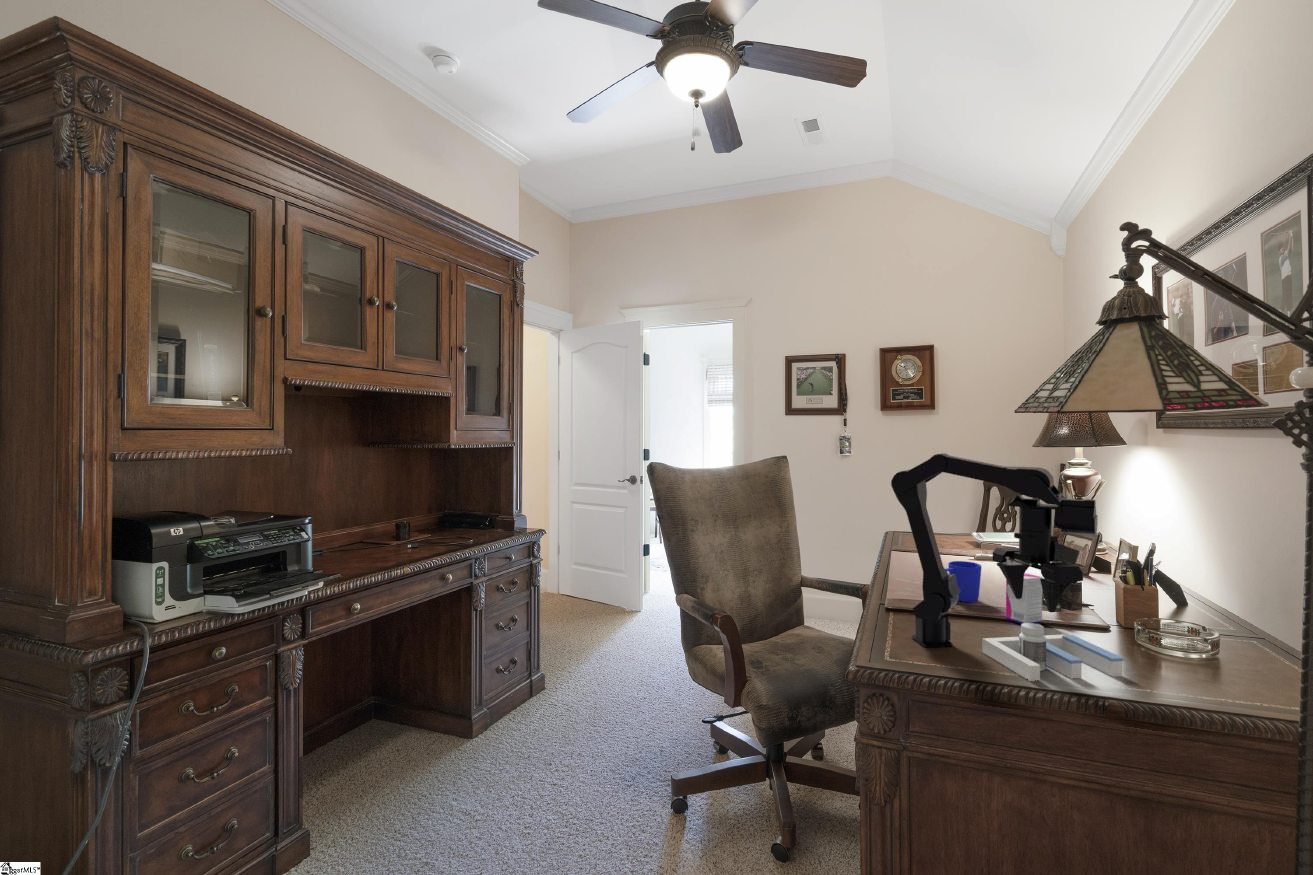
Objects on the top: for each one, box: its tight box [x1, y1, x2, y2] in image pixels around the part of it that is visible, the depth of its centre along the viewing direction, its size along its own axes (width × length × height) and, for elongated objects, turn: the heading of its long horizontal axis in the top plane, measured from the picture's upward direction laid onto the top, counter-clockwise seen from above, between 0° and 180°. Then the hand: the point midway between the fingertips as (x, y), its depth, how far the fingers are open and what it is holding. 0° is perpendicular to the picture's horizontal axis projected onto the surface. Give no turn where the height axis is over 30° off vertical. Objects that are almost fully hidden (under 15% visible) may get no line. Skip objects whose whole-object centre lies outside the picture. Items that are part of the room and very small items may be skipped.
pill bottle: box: [1018, 623, 1047, 672], centre depth 126 cm, size 5×5×8 cm
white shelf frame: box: [981, 634, 1124, 682], centre depth 127 cm, size 19×15×4 cm
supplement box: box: [1005, 572, 1043, 625], centre depth 153 cm, size 6×6×12 cm
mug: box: [944, 560, 982, 603], centre depth 171 cm, size 8×12×10 cm
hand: (1034, 605), depth 127 cm, fingers open, 9 cm apart
